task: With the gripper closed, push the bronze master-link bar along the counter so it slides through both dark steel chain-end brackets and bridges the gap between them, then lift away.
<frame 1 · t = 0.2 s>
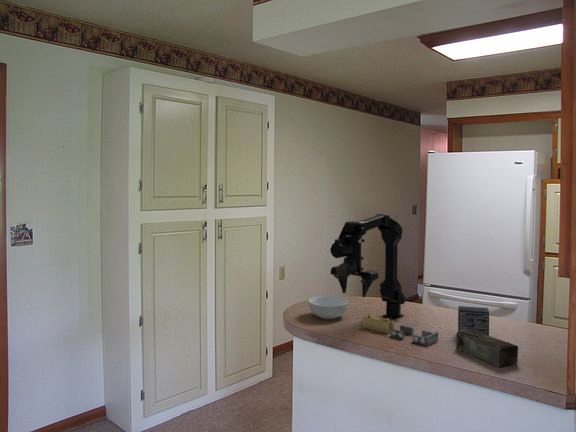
hand: (354, 295, 179), 14 cm above the counter, tool pointing down, fingers open, 9 cm apart
master link: (378, 329, 181), on the counter
small box: (473, 336, 172), on the counter
chain ends: (412, 338, 171), on the counter
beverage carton: (485, 357, 153), on the counter
cereal bowl: (328, 317, 199), on the counter
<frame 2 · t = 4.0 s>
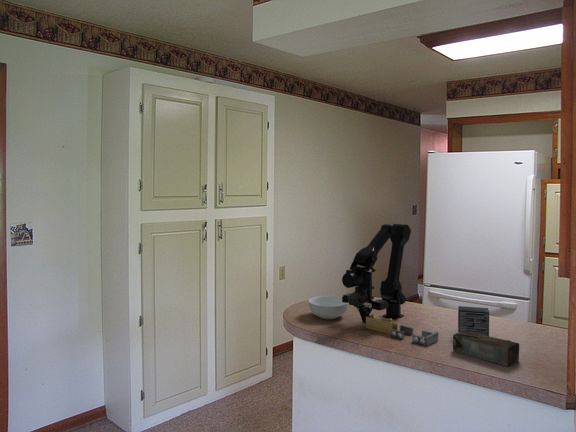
hand: (364, 322, 186), 1 cm above the counter, tool pointing down, fingers closed
master link: (381, 330, 180), on the counter, touching gripper
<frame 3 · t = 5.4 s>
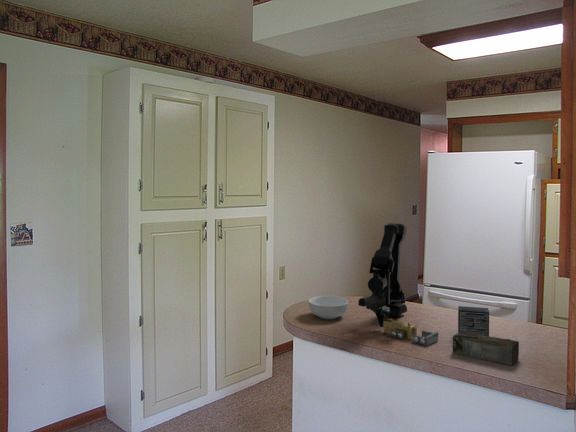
hand: (381, 327, 180), 1 cm above the counter, tool pointing down, fingers closed
master link: (399, 334, 174), on the counter, touching gripper
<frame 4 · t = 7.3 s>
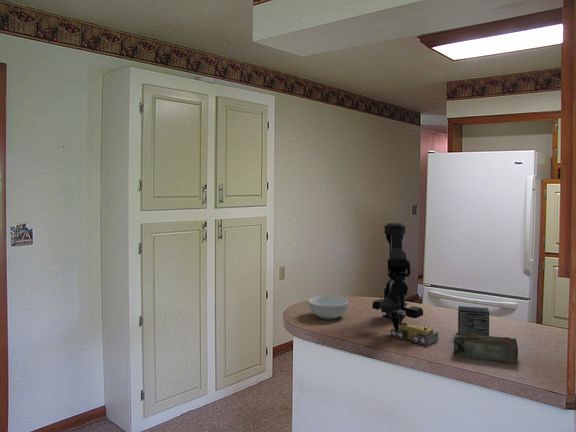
hand: (396, 330, 175), 1 cm above the counter, tool pointing down, fingers closed
master link: (415, 338, 170), on the counter, touching chain ends, gripper
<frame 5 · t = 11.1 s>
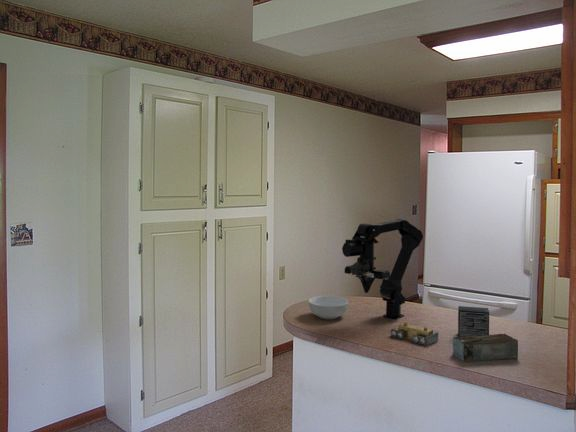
hand: (366, 292, 190), 12 cm above the counter, tool pointing down, fingers closed
master link: (415, 339, 170), on the counter
at the end: master link 0.8 cm off-centre on the chain ends, point 0.0 cm above the chain ends's base; master link tilted 0° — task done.
